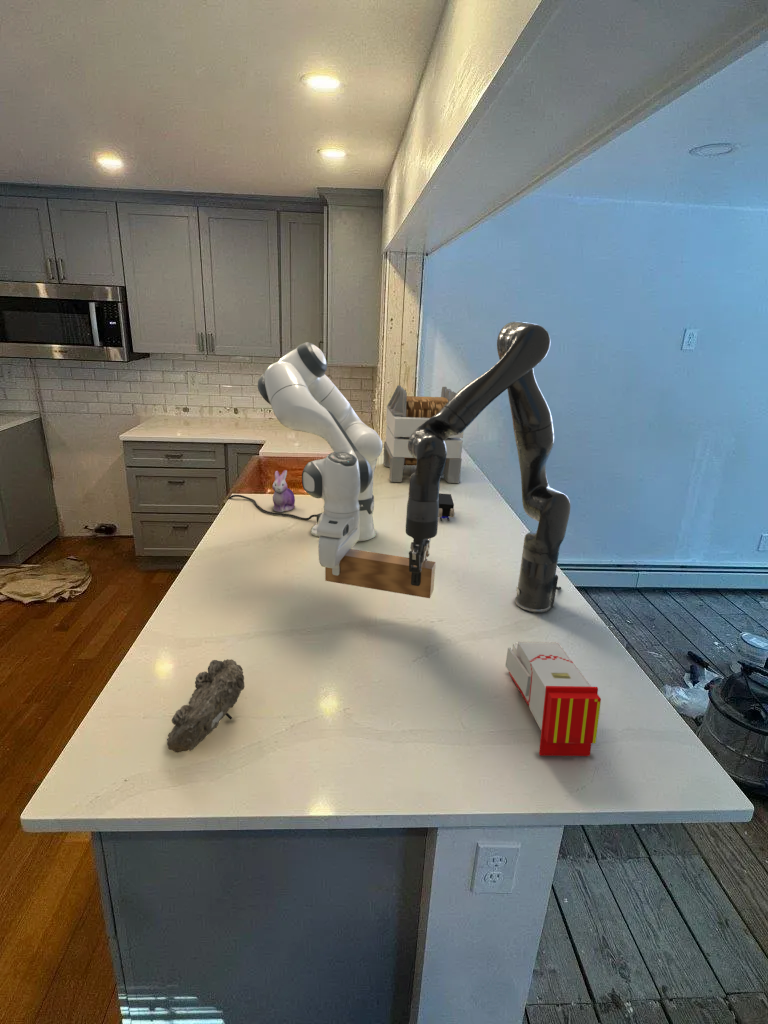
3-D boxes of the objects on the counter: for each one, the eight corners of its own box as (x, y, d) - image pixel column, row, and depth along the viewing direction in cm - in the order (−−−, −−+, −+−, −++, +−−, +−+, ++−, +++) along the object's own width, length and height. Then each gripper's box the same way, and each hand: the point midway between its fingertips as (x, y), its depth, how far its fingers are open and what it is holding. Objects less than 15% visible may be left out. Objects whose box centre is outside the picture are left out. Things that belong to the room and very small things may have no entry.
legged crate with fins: (382, 463, 289) (386, 382, 275) (445, 464, 293) (451, 384, 279) (390, 482, 257) (394, 392, 243) (460, 483, 261) (468, 394, 247)
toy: (554, 624, 127) (610, 694, 97) (548, 679, 130) (602, 763, 100) (500, 623, 126) (541, 693, 97) (496, 678, 129) (534, 763, 100)
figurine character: (454, 527, 212) (449, 509, 225) (456, 508, 209) (451, 492, 222) (436, 526, 212) (433, 508, 225) (438, 508, 208) (434, 491, 222)
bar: (325, 580, 144) (325, 552, 142) (331, 573, 148) (331, 545, 146) (429, 598, 138) (432, 569, 135) (433, 590, 142) (435, 561, 139)
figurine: (275, 514, 213) (275, 475, 208) (268, 505, 221) (266, 468, 216) (299, 511, 217) (299, 473, 212) (291, 502, 225) (290, 466, 220)
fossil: (192, 660, 117) (244, 628, 112) (224, 691, 120) (276, 661, 115) (142, 746, 98) (202, 712, 93) (182, 779, 101) (242, 748, 96)
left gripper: (343, 504, 150) (342, 552, 155) (313, 531, 132) (313, 584, 136) (366, 507, 149) (364, 555, 153) (339, 534, 130) (338, 588, 135)
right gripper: (431, 528, 126) (426, 596, 132) (443, 508, 139) (438, 570, 145) (399, 523, 128) (395, 590, 134) (413, 504, 141) (410, 566, 147)
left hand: (340, 569), depth 145 cm, fingers closed on bar, 4 cm apart
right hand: (418, 580), depth 139 cm, fingers open, 4 cm apart
